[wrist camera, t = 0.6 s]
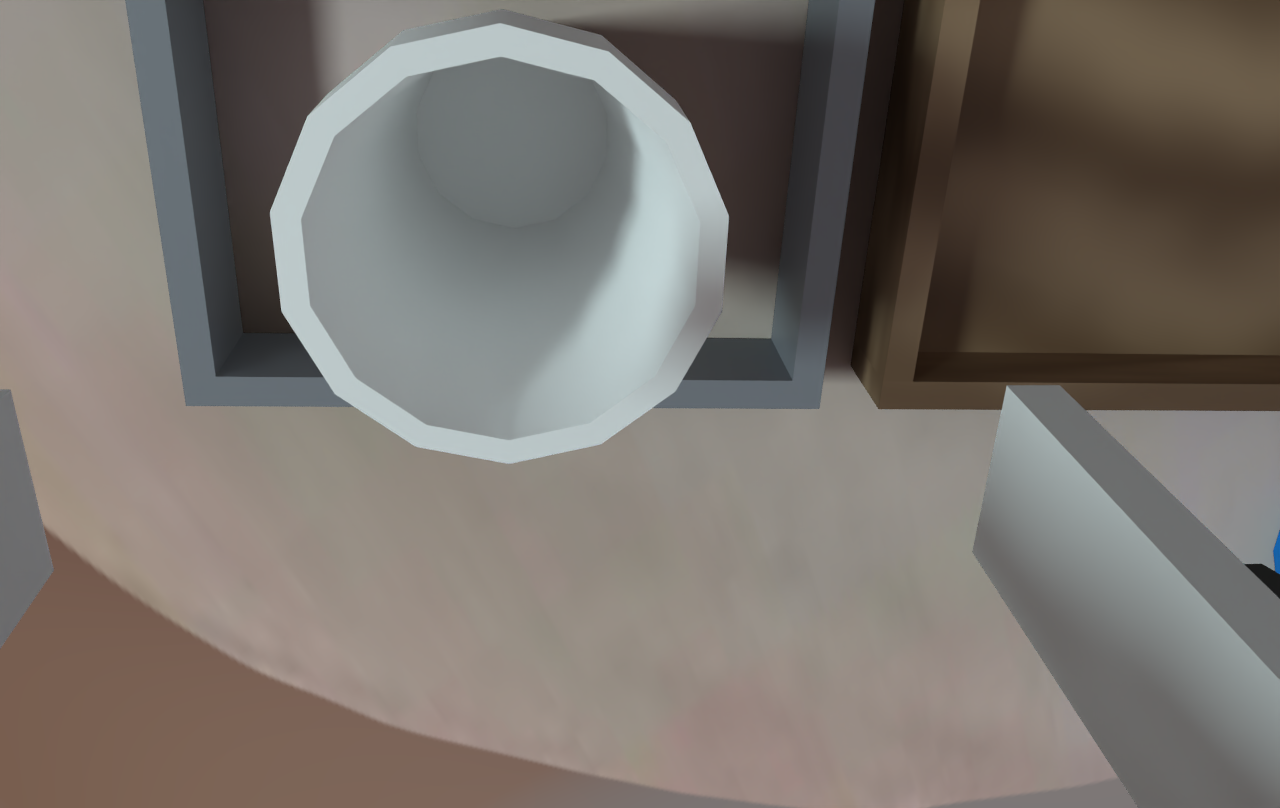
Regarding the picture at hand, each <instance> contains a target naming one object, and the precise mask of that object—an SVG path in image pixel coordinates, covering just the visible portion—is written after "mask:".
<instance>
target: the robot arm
mask: <svg viewBox="0 0 1280 808" xmlns="http://www.w3.org/2000/svg"><path fill="white" fill-rule="evenodd" d="M972 552H973V554H974V555H975V557H976V559H977V560H978V562H979V563H980V565H981V566H982V568H983V569H984V571H985V572H986V574H987V576H988V577H989V579H990V580H991V582H992V583H993V585H994V586H995V588H996V589H997V591H998V592H999V594H1000V596H1001V597H1002V599H1003V600H1004V602H1005V603H1006V605H1007V606H1008V608H1009V609H1010V611H1011V612H1012V614H1013V616H1014V617H1015V619H1016V620H1017V622H1018V623H1019V625H1020V626H1021V628H1022V629H1023V631H1024V633H1025V634H1026V636H1027V637H1028V639H1029V640H1030V642H1031V643H1032V645H1033V646H1034V648H1035V649H1036V651H1037V653H1038V654H1039V656H1040V657H1041V659H1042V660H1043V662H1044V663H1045V665H1046V666H1047V668H1048V669H1049V671H1050V673H1051V674H1052V676H1053V677H1054V679H1055V680H1056V682H1057V683H1058V685H1059V686H1060V688H1061V690H1062V691H1063V693H1064V694H1065V696H1066V697H1067V699H1068V700H1069V702H1070V703H1071V705H1072V706H1073V708H1074V710H1075V711H1076V713H1077V714H1078V716H1079V717H1080V719H1081V720H1082V722H1083V723H1084V725H1085V726H1086V728H1087V730H1088V731H1089V733H1090V734H1091V736H1092V737H1093V739H1094V740H1095V742H1096V743H1097V745H1098V747H1099V748H1100V750H1101V751H1102V753H1103V754H1104V756H1105V757H1106V759H1107V760H1108V762H1109V763H1110V765H1111V767H1112V768H1113V770H1114V771H1115V773H1116V774H1117V776H1118V777H1119V779H1120V780H1121V782H1122V783H1123V785H1124V787H1125V788H1126V790H1127V791H1128V793H1129V794H1130V796H1131V797H1132V799H1133V800H1134V802H1135V804H1136V805H1137V807H1138V808H1280V574H1278V573H1277V572H1275V571H1273V570H1271V569H1270V568H1268V567H1266V566H1265V565H1263V564H1243V563H1242V562H1241V561H1240V560H1239V559H1238V558H1237V557H1236V556H1235V555H1234V554H1233V553H1232V552H1231V551H1230V550H1229V549H1228V548H1227V547H1226V546H1225V545H1224V544H1223V543H1222V542H1221V541H1220V540H1219V539H1218V538H1217V537H1216V536H1214V535H1213V534H1212V533H1211V532H1210V531H1209V530H1208V529H1207V528H1206V527H1205V526H1204V525H1203V524H1202V523H1201V522H1200V521H1199V520H1198V519H1197V518H1196V517H1195V516H1194V515H1193V514H1192V513H1191V512H1190V511H1189V510H1188V509H1187V508H1186V507H1185V506H1184V505H1183V504H1182V503H1180V502H1179V501H1178V500H1177V499H1176V498H1175V497H1174V496H1173V495H1172V494H1171V493H1170V492H1169V491H1168V490H1167V489H1166V488H1165V487H1164V486H1163V485H1162V484H1161V483H1160V482H1159V481H1158V480H1157V479H1156V478H1155V477H1154V476H1153V475H1152V474H1151V473H1150V472H1149V471H1148V470H1146V469H1145V468H1144V467H1143V466H1142V465H1141V464H1140V463H1139V462H1138V461H1137V460H1136V459H1135V458H1134V457H1133V456H1132V455H1131V454H1130V453H1129V452H1128V451H1127V450H1126V449H1125V448H1124V447H1123V446H1122V445H1121V444H1120V443H1119V442H1118V441H1117V440H1116V439H1115V438H1114V437H1112V436H1111V435H1110V434H1109V433H1108V432H1107V431H1106V430H1105V429H1104V428H1103V427H1102V426H1101V425H1100V424H1099V423H1098V422H1097V421H1096V420H1095V419H1094V418H1093V417H1092V416H1091V415H1090V414H1089V413H1088V412H1087V411H1086V410H1085V409H1084V408H1083V407H1082V406H1081V405H1080V404H1078V403H1077V402H1076V401H1075V400H1074V399H1073V398H1072V397H1071V396H1070V395H1069V394H1068V393H1067V392H1066V391H1065V390H1064V389H1063V388H1062V387H1061V386H1060V385H1007V386H1006V391H1005V396H1004V401H1003V406H1002V411H1001V416H1000V420H999V425H998V430H997V435H996V440H995V445H994V449H993V454H992V459H991V464H990V469H989V474H988V479H987V483H986V488H985V493H984V498H983V503H982V508H981V512H980V517H979V522H978V527H977V532H976V537H975V542H974V546H973V551H972ZM53 571H54V569H53V565H52V561H51V556H50V553H49V548H48V544H47V540H46V536H45V532H44V527H43V523H42V519H41V515H40V511H39V507H38V502H37V498H36V494H35V490H34V486H33V482H32V478H31V473H30V469H29V465H28V461H27V457H26V453H25V448H24V444H23V440H22V436H21V432H20V428H19V424H18V419H17V415H16V411H15V407H14V403H13V399H12V395H11V390H0V648H1V647H2V645H3V644H4V642H5V640H6V639H7V638H8V636H9V635H10V634H11V632H12V631H13V629H14V628H15V626H16V625H17V623H18V622H19V620H20V619H21V618H22V616H23V615H24V613H25V612H26V610H27V609H28V607H29V606H30V604H31V603H32V601H33V600H34V598H35V597H36V596H37V594H38V593H39V591H40V589H41V588H42V587H43V585H44V584H45V582H46V581H47V579H48V578H49V576H50V575H51V574H52V572H53Z"/></svg>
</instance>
